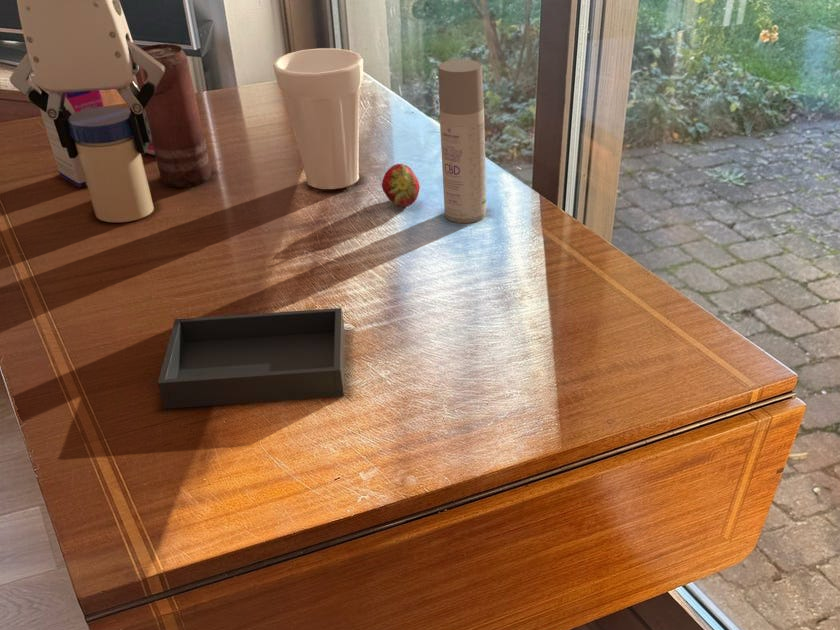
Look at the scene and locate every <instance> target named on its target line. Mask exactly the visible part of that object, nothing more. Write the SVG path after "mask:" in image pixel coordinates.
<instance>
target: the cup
mask: <svg viewBox="0 0 840 630" xmlns="http://www.w3.org/2000/svg"><path fill="white" fill-rule="evenodd" d="M272 67H273V70H274V71H273V72H274V74H275V78H276V82H277V85H278V87H279V89H280V91H281V93H282V96H283V99H284V103H285V108H286V111H287V114H288V119H289V121H290V125H291V129H292V131H293V135H294V139H295V143H296V146H297V149H298V150H297V151H298V153H299V157H300V161H301V163H302V168H303V171H304V175H305V179H306V183H307V184H308V185H309V186H310V187H312V188H316V189H321V190H336V189H343V188H346V187H349V186H353V185H354V184H356V183H357V182H358V181H359V179H360V174H359V154H360V153H359V151H360V150H359V141H360V140H359V139H360V138H359V135H360V88H361V87H362V84H363V83H362V82H363V79H364V59H363V58H362V56H361V55H360V54H359V53H358V52H355V51H352V50H350V49H344V48H335V47H328V48H327V47H319V48H317V47H316V48H310V49H309V48H307V49H302V50H301V49H300V50H297V51H293V52H288V53H286V54H284V55H281V56H280V57H278V58H277V59H275V61H274V63H273V64H272Z"/></svg>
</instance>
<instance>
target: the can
mask: <svg viewBox="0 0 840 630" xmlns="http://www.w3.org/2000/svg"><path fill="white" fill-rule="evenodd" d="M139 48H140V49H142V50H143V51H145V52H146V53H147V54H149V55H150V56H151V57H153V58H154V59H155V60H157V61H158V62H160V63H161V64H162V65H163V66H164V67H165V73H164V75H163V77H162V79H161V81H160V83H159V85H158V87H157V88H156V90H155V92H154V94H153V96H152V97H151V99H150V101H149V102H148V104H147V105H146V107H145V111H146V115H147V119H148V123H149V127H150V131H151V135H152V144H153V148H154V152H155V155H154V157H155V160H156V164H157V168H158V172H159V176H160V179H161V181H163V183H164V184H166V185H167V186H169V187H171V188H191V187H195V186H199V185H202V184H204V183H206V182H208V181H209V179H210V177H211V175H212V168H211V163H210V159H209V153H208V148H207V145H206V140H205V134H204V129H203V125H202V120H201V116H200V111H199V107H198V102H197V97H196V93H195V87H194V82H193V78H192V74H191V73H192V72H191V69H190V64H189V60H188V56H187V54H186V52H184V50H183V48H182V46H180V45H177V44H172V43H158V44H157V43H156V44H151V45H146V46H142V47H139ZM135 76H136V80H137V84H138V88H139V89H141V88H142V86H143V85H144V83H145V81H146V80H147V77H148V74H147V72H146V71H145V70H144V69H142V68H141V67H140V66H139V70H138V72H137V73H136V74H135Z"/></svg>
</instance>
